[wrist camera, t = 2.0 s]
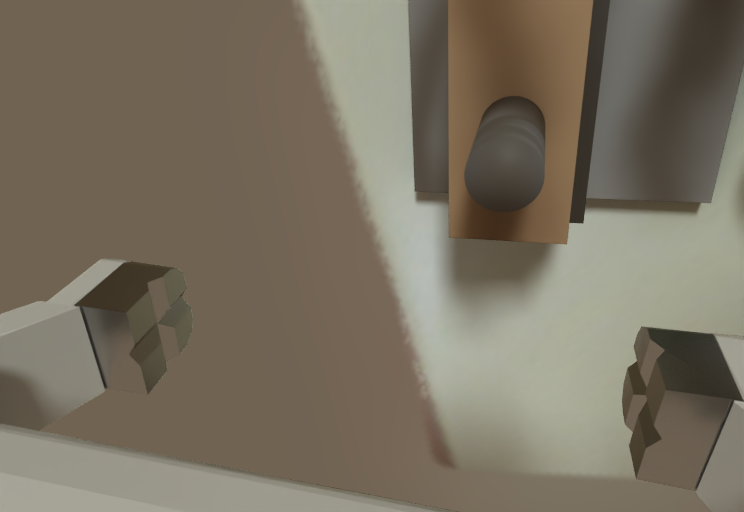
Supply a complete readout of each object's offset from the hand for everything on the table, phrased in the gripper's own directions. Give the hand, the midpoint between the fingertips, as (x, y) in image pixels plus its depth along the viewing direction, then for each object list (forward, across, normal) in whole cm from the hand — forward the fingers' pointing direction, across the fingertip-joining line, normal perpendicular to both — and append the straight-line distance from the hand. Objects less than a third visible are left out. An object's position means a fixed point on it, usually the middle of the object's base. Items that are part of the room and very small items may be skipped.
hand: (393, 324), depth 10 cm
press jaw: (+27, -3, +2) cm, 27 cm away
